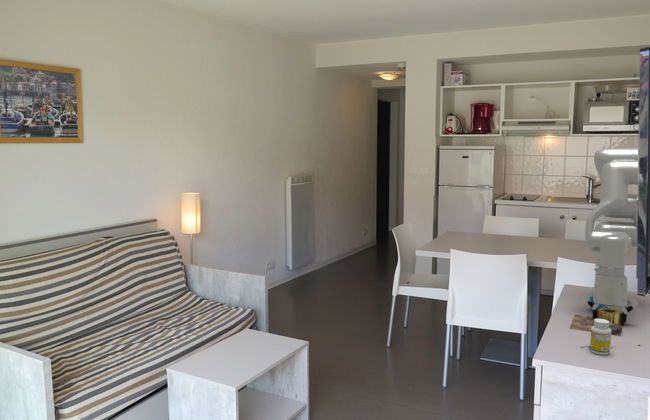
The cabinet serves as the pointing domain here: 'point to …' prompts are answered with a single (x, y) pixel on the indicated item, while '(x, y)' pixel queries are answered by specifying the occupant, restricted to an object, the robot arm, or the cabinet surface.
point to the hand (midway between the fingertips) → (609, 321)
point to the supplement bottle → (600, 337)
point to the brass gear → (610, 315)
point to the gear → (599, 304)
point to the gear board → (592, 324)
